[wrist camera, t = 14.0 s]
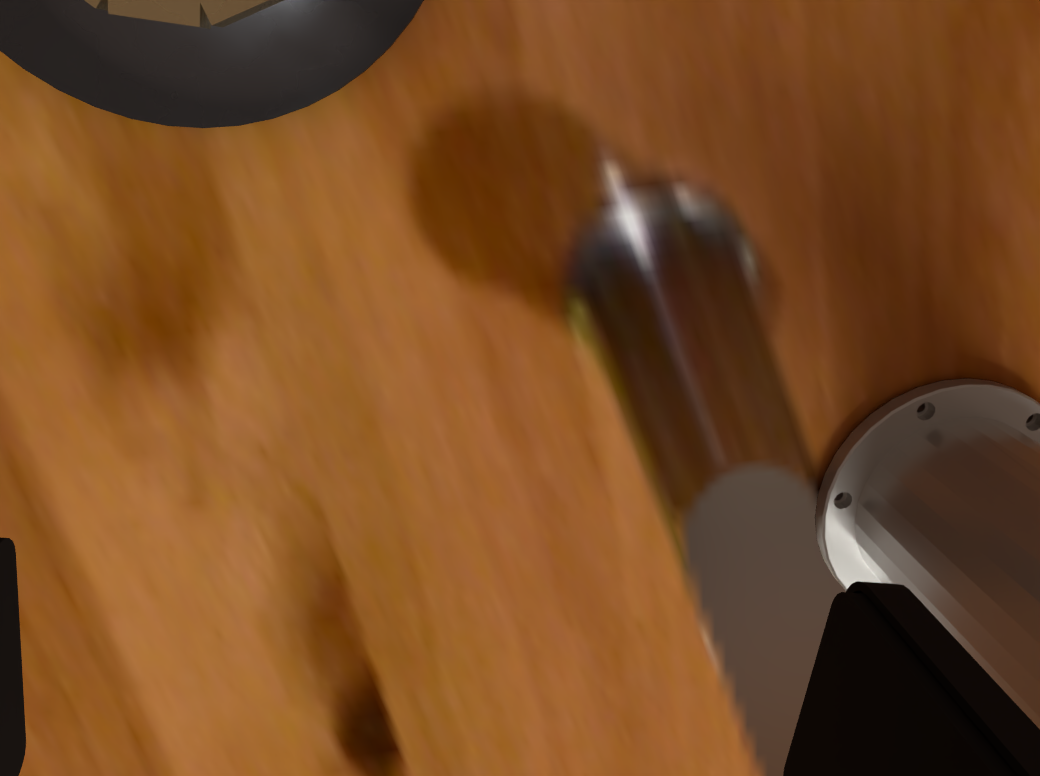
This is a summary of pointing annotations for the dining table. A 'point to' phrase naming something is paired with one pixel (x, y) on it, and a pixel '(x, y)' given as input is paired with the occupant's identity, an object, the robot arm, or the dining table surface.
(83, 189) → the dining table surface
